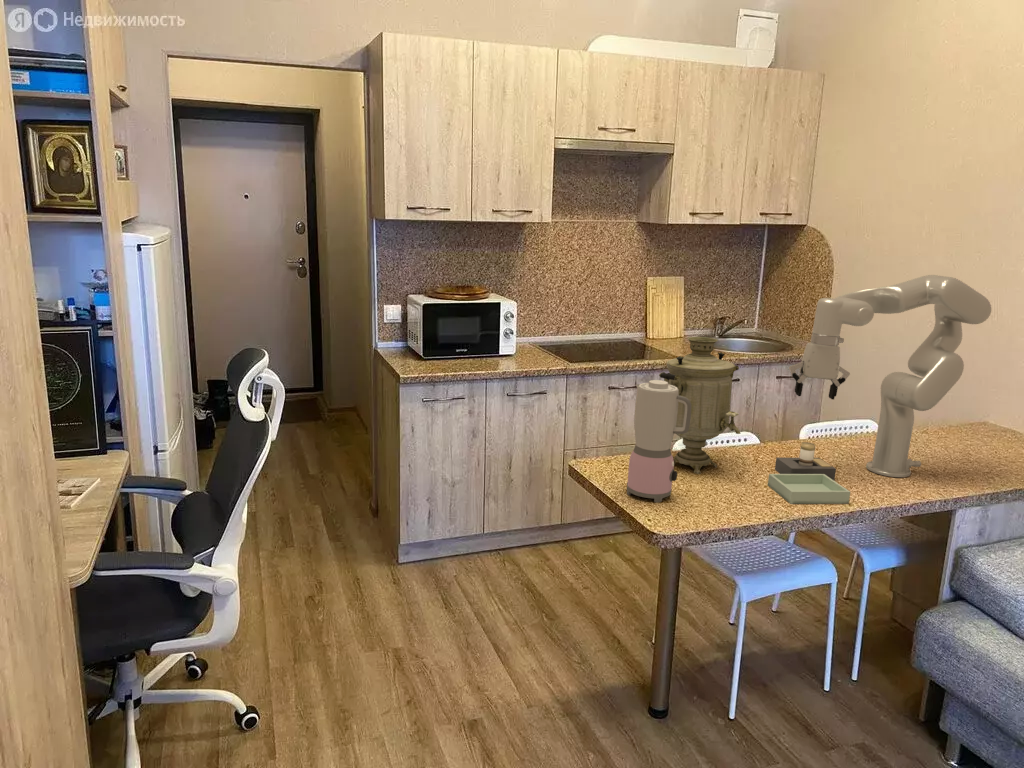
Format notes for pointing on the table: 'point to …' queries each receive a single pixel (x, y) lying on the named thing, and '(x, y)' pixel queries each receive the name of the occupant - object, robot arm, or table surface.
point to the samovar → (702, 398)
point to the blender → (655, 439)
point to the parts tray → (808, 489)
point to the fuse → (806, 454)
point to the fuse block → (804, 467)
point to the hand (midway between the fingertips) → (814, 396)
